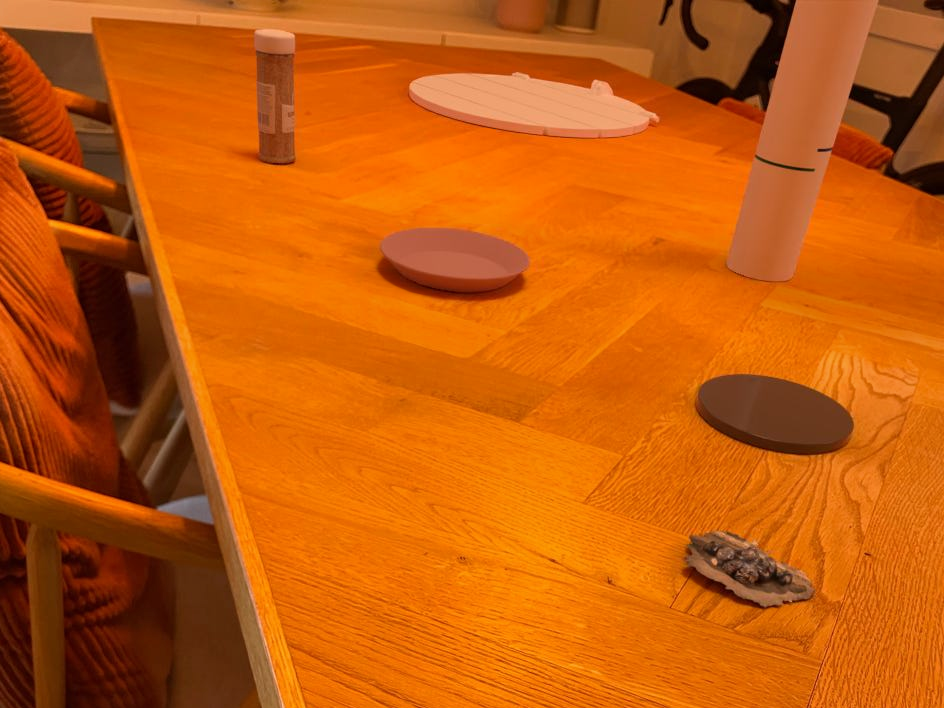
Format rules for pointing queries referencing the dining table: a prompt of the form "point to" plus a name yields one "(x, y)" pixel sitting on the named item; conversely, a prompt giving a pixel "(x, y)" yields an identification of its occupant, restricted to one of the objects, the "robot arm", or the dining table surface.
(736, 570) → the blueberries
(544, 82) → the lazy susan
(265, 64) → the sprinkles bottle
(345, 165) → the dining table surface
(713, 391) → the coaster
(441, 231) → the plate
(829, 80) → the cylindrical container
